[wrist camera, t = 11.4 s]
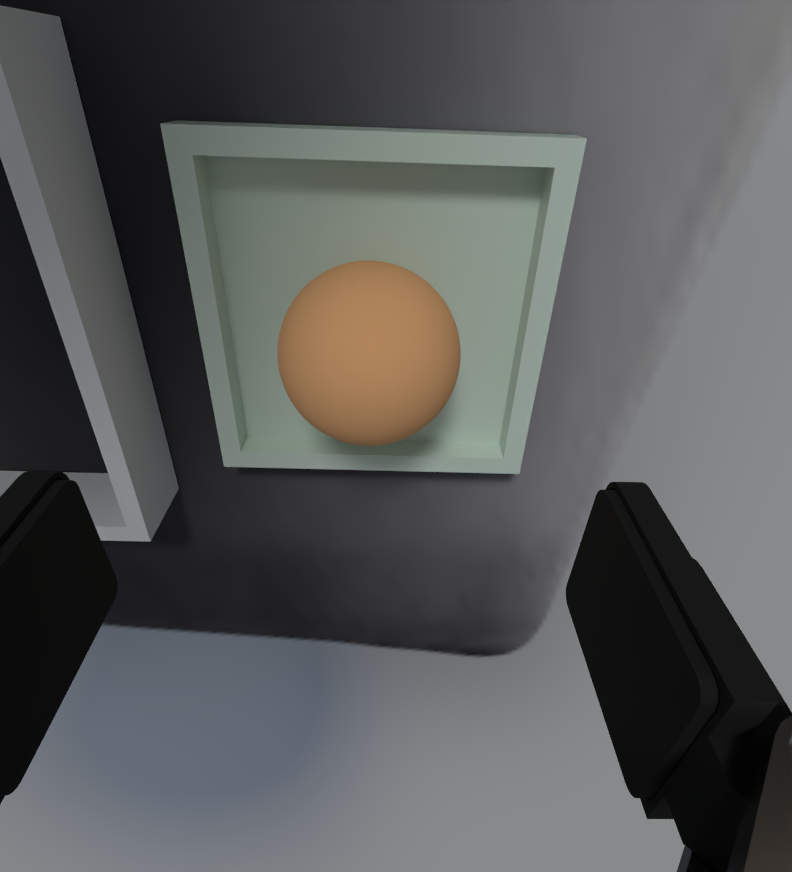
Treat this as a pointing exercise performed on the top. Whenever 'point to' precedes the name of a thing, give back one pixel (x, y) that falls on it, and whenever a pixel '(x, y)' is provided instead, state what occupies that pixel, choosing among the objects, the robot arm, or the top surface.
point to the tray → (379, 241)
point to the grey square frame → (81, 275)
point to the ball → (368, 353)
